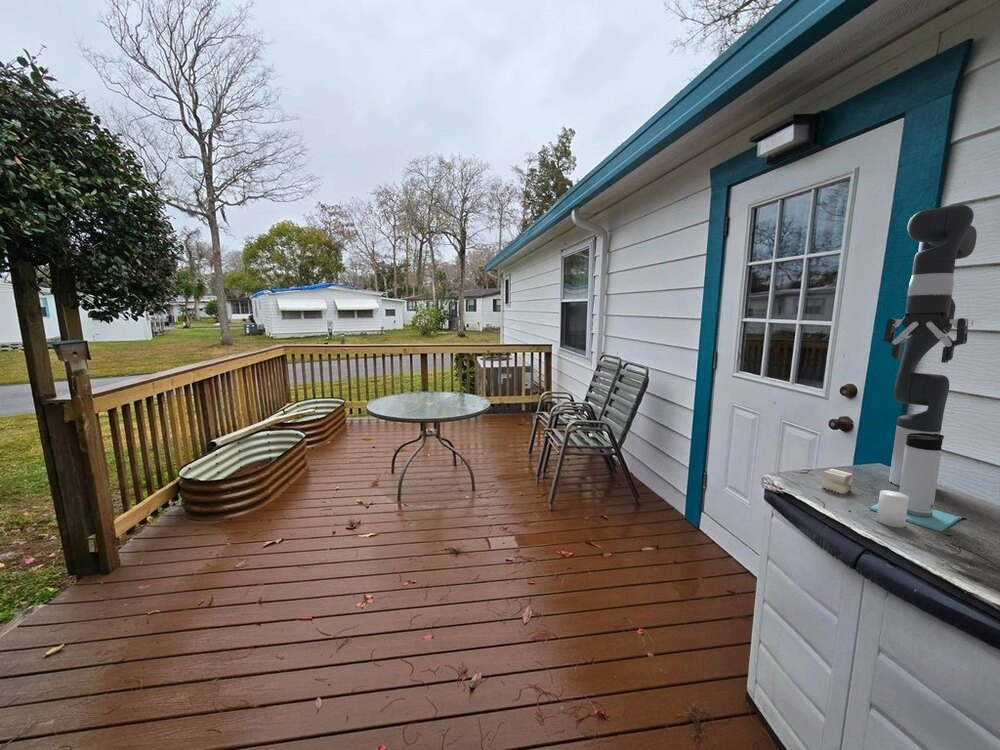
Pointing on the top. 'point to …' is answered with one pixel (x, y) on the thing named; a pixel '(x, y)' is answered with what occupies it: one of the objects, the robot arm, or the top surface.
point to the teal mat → (930, 519)
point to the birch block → (837, 480)
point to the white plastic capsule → (892, 508)
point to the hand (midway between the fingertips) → (920, 361)
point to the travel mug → (921, 472)
